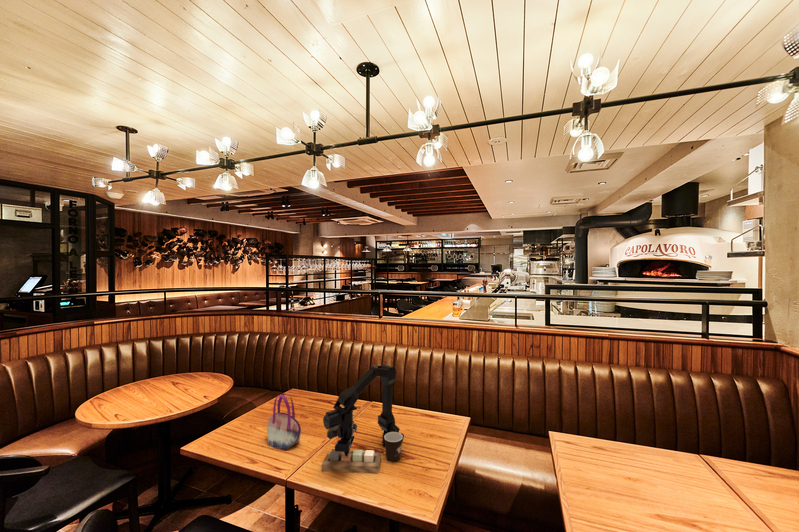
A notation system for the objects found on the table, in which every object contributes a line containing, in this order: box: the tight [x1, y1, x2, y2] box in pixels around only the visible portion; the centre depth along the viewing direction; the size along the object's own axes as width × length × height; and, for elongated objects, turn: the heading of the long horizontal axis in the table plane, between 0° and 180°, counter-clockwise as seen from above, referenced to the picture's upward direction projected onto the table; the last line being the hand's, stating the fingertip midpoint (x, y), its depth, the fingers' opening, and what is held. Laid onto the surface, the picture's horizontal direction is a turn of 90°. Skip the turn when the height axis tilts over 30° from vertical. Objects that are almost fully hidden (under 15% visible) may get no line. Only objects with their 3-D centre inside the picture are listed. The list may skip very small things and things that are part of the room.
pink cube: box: [340, 453, 352, 462], centre depth 141 cm, size 4×4×4 cm
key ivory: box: [364, 449, 375, 463], centre depth 141 cm, size 4×4×4 cm
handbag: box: [266, 392, 302, 451], centre depth 158 cm, size 21×10×25 cm, turn 66°
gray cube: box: [330, 448, 341, 462], centre depth 142 cm, size 4×4×4 cm
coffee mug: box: [384, 432, 405, 463], centre depth 147 cm, size 12×9×10 cm
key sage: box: [352, 449, 364, 462], centre depth 141 cm, size 4×4×4 cm
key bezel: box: [321, 450, 382, 474], centre depth 141 cm, size 25×10×3 cm, turn 86°
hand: (346, 455), depth 141 cm, fingers closed, pressing on pink cube
